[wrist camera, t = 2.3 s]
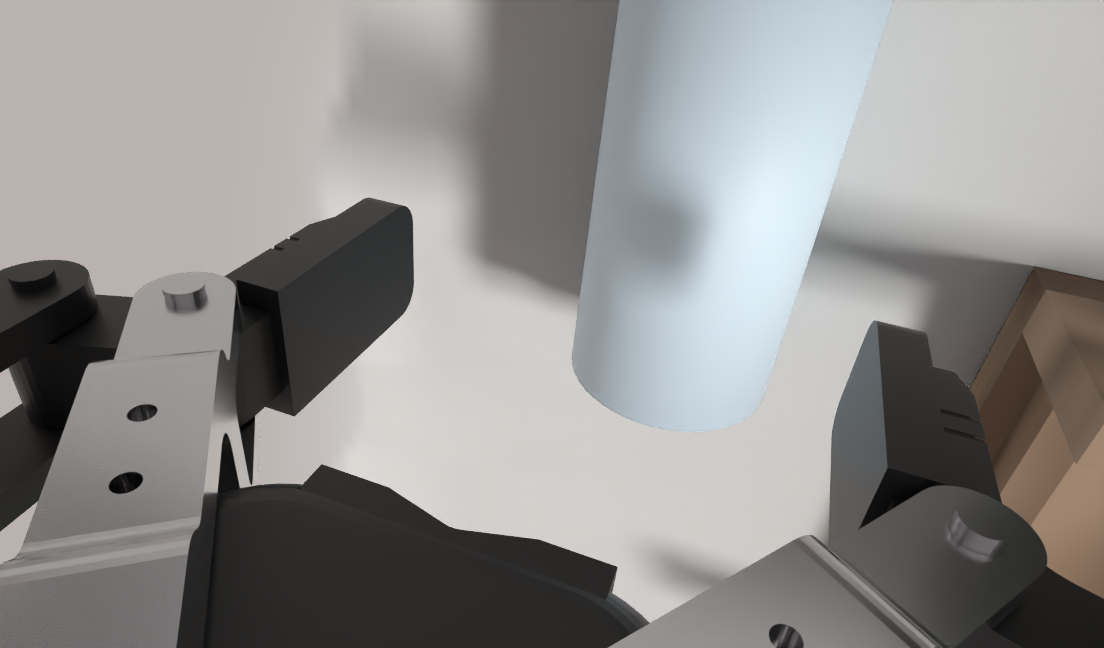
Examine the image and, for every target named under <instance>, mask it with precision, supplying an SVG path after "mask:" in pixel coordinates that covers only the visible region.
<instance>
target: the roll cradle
mask: <svg viewBox="0 0 1104 648" xmlns="http://www.w3.org/2000/svg"><path fill="white" fill-rule="evenodd" d="M969 390H970V391H971V393H972V394H973V395H974V396H975V400H976V404H977V407H978V411H979V415H980V424H982V427H983V431H984V435H985V441H984V443H987V446H988V450H989V454H990V458H991V462H992V466H993V470H994V474H995V478H996V482H997V485H998V489H999V493H1000V497H1001V501H1002V504H1004V505H1005V506H1007V507H1009V508H1010V509H1012V510H1013V511H1014V512H1016V513H1017V514H1018V515H1020V516H1021V517H1022V518H1023V519H1024V520H1025V521H1026V522H1027V523H1028V524H1029V525H1030V526H1031V527H1032V528H1033V529H1034V530H1035V532H1036V533H1037V534H1038V536H1039V537H1040V539H1041V540H1042V542H1043V544H1044V547H1045V549H1046V553H1047V567H1049V568H1050V569H1051V570H1053V571H1054V572H1056V573H1057V574H1059V575H1060V576H1062V577H1064V578H1065V579H1067V580H1069V581H1071V582H1073V583H1074V584H1076V585H1078V586H1080V587H1082V588H1084V589H1086V590H1088V591H1090V592H1092V593H1094V594H1096V595H1097V596H1099V597H1101V598H1103V599H1104V282H1103V281H1099V280H1094V279H1089V278H1085V277H1080V276H1075V275H1071V274H1066V273H1061V272H1057V271H1052V270H1047V269H1043V268H1038V267H1034V269H1033V271H1032V273H1031V274H1030V276H1029V278H1028V280H1027V282H1026V284H1025V286H1024V288H1023V290H1022V291H1021V293H1020V295H1019V297H1018V299H1017V301H1016V303H1015V305H1014V307H1013V308H1012V310H1011V312H1010V314H1009V316H1008V318H1007V320H1006V322H1005V323H1004V325H1003V327H1002V329H1001V331H1000V333H999V335H998V337H997V339H996V340H995V342H994V344H993V346H992V348H991V350H990V352H989V354H988V356H987V357H986V359H985V361H984V363H983V365H982V367H981V369H980V371H979V373H978V374H977V376H976V378H975V380H974V382H973V384H972V386H971V388H970V389H969Z"/></svg>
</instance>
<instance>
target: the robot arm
mask: <svg viewBox="0 0 1104 648" xmlns="http://www.w3.org/2000/svg"><path fill="white" fill-rule="evenodd" d="M413 286H414V266H413V219H412V214H411V212H410V210H409V209H408V208H407V207H406V206H402V205H398V204H394V203H390V202H385V201H381V200H377V199H373V198H365V199H363V200H362V201H360V202H358V203H357V204H355V205H354V206H352V207H350V208H349V209H347V210H346V211H344V212H342V213H341V214H339V215H338V216H336V217H333V218H330V219H326V220H323V221H320V222H316V223H313V224H310V225H308V226H306V227H305V228H303V229H302V230H300V231H298V232H297V233H295V234H293V235H292V236H290V239H285V240H284V241H282V242H280V243H278V244H277V245H275V246H274V249H271V248H270V249H269V250H267V251H265V252H264V253H262V254H261V255H259V256H257V257H256V258H254V259H252V260H251V261H249V262H247V263H246V264H244V265H242V266H241V267H239V268H237V269H236V270H234V271H233V272H231V273H229V274H228V275H226V276H221V275H218V274H214V273H207V272H186V273H178V274H173V275H169V276H165V277H162V278H159V279H156V280H154V281H152V282H150V283H148V284H146V285H144V286H143V287H142V288H140V289H139V290H138V291H137V292H136V294H135V295H134V297H121V296H107V295H95V292H94V289H93V286H92V282H91V279H90V275H89V272H88V270H87V269H86V268H85V267H84V266H82V265H80V264H77V263H74V262H70V261H63V260H44V261H43V260H42V261H34V262H28V263H23V264H19V265H15V266H11V267H9V268H5V269H3V270H1V271H0V372H2V371H3V370H5V369H7V368H9V370H10V373H11V375H12V378H13V381H14V383H15V386H16V388H17V391H18V393H19V395H20V398H21V400H22V404H21V405H19V406H18V407H16V408H15V409H13V410H12V411H10V412H9V413H7V414H6V415H4V416H3V417H1V418H0V531H1V530H3V529H4V528H5V527H6V526H7V525H9V524H10V523H11V522H13V521H14V520H15V519H16V518H17V517H19V516H20V515H21V514H22V513H24V512H25V511H26V510H27V509H29V508H30V507H31V506H32V505H34V504H35V503H36V502H37V501H38V500H39V501H38V503H37V507H36V509H35V512H34V515H33V518H32V520H31V523H30V526H29V529H28V531H27V534H26V537H25V540H24V543H23V545H22V547H21V550H20V552H19V553H18V554H17V556H16V557H15V558H13V559H12V560H9V561H6V562H4V563H3V564H1V565H0V648H1104V599H1103V598H1101V597H1099V596H1097V595H1096V594H1094V593H1092V592H1090V591H1088V590H1086V589H1084V588H1082V587H1080V586H1078V585H1076V584H1074V583H1073V582H1071V581H1069V580H1067V579H1065V578H1064V577H1062V576H1060V575H1059V574H1057V573H1056V572H1054V571H1053V570H1051V569H1050V568H1049V567H1047V553H1046V549H1045V547H1044V544H1043V542H1042V540H1041V539H1040V537H1039V536H1038V534H1037V533H1036V532H1035V530H1034V529H1033V528H1032V527H1031V526H1030V525H1029V524H1028V523H1027V522H1026V521H1025V520H1024V519H1023V518H1022V517H1021V516H1020V515H1018V514H1017V513H1016V512H1014V511H1013V510H1012V509H1010V508H1009V507H1007V506H1005V505H1004V504H1002V501H1001V497H1000V493H999V489H998V485H997V482H996V478H995V474H994V470H993V466H992V462H991V458H990V454H989V450H988V446H987V443H984V441H985V435H984V431H983V427H982V424H980V415H979V411H978V407H977V404H976V400H975V396H974V395H973V394H972V393H971V391H970V390H969V389H968V388H967V387H966V386H965V384H964V383H963V382H962V381H961V380H960V379H959V377H958V376H957V375H956V374H955V373H954V372H950V371H946V370H942V369H938V368H934V367H933V366H932V361H931V355H930V350H929V344H928V339H927V335H926V333H925V332H921V331H917V330H913V329H908V328H904V327H900V326H896V325H892V324H888V323H883V322H879V321H873V322H872V324H871V325H870V327H869V329H868V331H867V334H866V336H865V338H864V341H863V344H862V346H861V349H860V351H859V354H858V356H857V359H856V361H855V364H854V366H853V369H852V371H851V374H850V376H849V379H848V382H847V384H846V387H845V389H844V392H843V394H842V397H841V399H840V402H839V405H838V408H837V412H836V416H835V420H834V424H833V430H832V443H831V479H830V515H829V548H827V547H826V546H825V545H824V544H822V543H821V542H820V541H819V540H818V539H817V538H816V537H814V536H812V535H806V536H802V537H799V538H797V539H795V540H793V541H791V542H790V543H788V544H786V545H784V546H783V547H781V548H779V549H778V550H776V551H774V552H772V553H771V554H769V555H767V556H765V557H764V558H762V559H760V560H759V561H757V562H755V563H753V564H752V565H750V566H748V567H746V568H745V569H743V570H741V571H739V572H738V573H736V574H734V575H733V576H731V577H729V578H727V579H726V580H724V581H722V582H720V583H719V584H717V585H715V586H714V587H712V588H710V589H708V590H707V591H705V592H703V593H701V594H700V595H698V596H696V597H695V598H693V599H691V600H689V601H688V602H686V603H684V604H682V605H681V606H679V607H677V608H675V609H674V610H672V611H670V612H669V613H667V614H665V615H663V616H662V617H660V618H658V619H656V620H655V621H653V622H651V623H649V622H648V621H647V620H646V619H645V618H644V617H643V616H642V615H641V614H640V613H639V612H637V611H636V610H635V609H634V608H632V607H631V606H630V605H629V604H627V603H626V602H625V601H623V600H622V599H620V598H619V597H617V596H616V595H614V594H612V591H613V586H614V581H615V577H616V572H617V567H616V566H613V565H610V564H607V563H605V562H602V561H599V560H596V559H593V558H590V557H587V556H584V555H582V554H579V553H576V552H573V551H570V550H567V549H564V548H561V547H558V546H556V545H553V544H550V543H547V542H544V541H541V540H537V539H529V538H521V537H514V536H506V535H498V534H490V533H482V532H474V531H466V530H459V529H454V528H452V527H449V526H447V525H445V524H444V523H442V522H441V521H439V520H438V519H436V518H435V517H433V516H431V515H430V514H428V513H427V512H425V511H424V510H422V509H421V508H419V507H418V506H416V505H415V504H413V503H412V502H410V501H408V500H407V499H405V498H404V497H402V496H401V495H399V494H398V493H396V492H395V491H393V490H392V489H390V488H388V487H386V486H383V485H380V484H377V483H374V482H371V481H368V480H365V479H362V478H360V477H357V476H354V475H351V474H348V473H345V472H342V471H339V470H337V469H334V468H331V467H328V466H325V465H321V466H320V467H319V468H318V469H317V470H316V471H315V472H314V473H313V474H312V475H311V476H310V477H309V479H308V480H307V481H306V482H305V483H304V484H303V485H301V484H267V485H258V467H259V466H258V465H259V432H260V429H259V422H258V416H257V413H258V412H260V411H261V410H262V409H263V408H264V407H268V408H271V409H274V410H277V411H280V412H283V413H286V414H289V415H292V416H295V415H297V413H299V412H300V411H301V410H302V409H303V408H304V407H305V406H306V405H307V404H308V403H309V402H310V401H311V400H313V398H315V397H316V396H317V395H318V394H319V393H320V392H321V391H322V390H323V389H324V388H325V387H326V386H327V385H328V384H329V383H330V382H332V381H333V380H334V379H335V378H336V377H337V376H338V375H339V374H340V373H341V372H342V371H343V370H344V369H345V368H347V367H348V366H349V365H350V364H351V363H352V362H353V361H354V360H355V359H356V358H357V357H358V356H359V355H360V354H361V353H362V352H364V351H365V350H366V349H367V348H368V347H369V346H370V345H371V344H372V343H373V342H374V341H375V340H376V339H377V338H378V337H379V336H381V335H382V334H383V333H384V332H385V331H386V330H387V329H388V328H389V327H390V326H391V325H392V324H393V323H394V322H395V321H396V320H398V319H399V318H400V317H401V316H402V315H403V313H404V312H405V311H406V309H407V307H408V305H409V303H410V300H411V297H412V293H413Z"/></svg>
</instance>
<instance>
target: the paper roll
mask: <svg viewBox="0 0 1104 648" xmlns="http://www.w3.org/2000/svg"><path fill="white" fill-rule="evenodd" d="M893 2H894V0H619V7H618V15H617V22H616V30H615V37H614V45H613V52H612V59H611V67H610V74H609V82H608V89H607V97H606V104H605V112H604V119H603V127H602V134H601V142H600V149H599V157H598V164H597V172H596V179H595V186H594V194H593V201H592V209H591V216H590V224H589V231H588V239H587V246H586V254H585V261H584V269H583V276H582V284H581V291H580V299H579V306H578V313H577V321H576V328H575V336H574V343H573V351H572V365H573V369H574V372H575V374H576V376H577V378H578V380H579V382H580V383H581V384H582V386H583V387H584V388H585V390H586V391H587V392H588V393H589V394H590V395H591V396H592V397H593V398H595V399H596V400H597V401H598V402H600V403H601V404H602V405H604V406H605V407H607V408H608V409H610V410H612V411H613V412H615V413H617V414H619V415H621V416H623V417H625V418H627V419H630V420H632V421H635V422H637V423H641V424H644V425H647V426H650V427H655V428H659V429H664V430H671V431H679V432H707V431H713V430H719V429H723V428H727V427H730V426H733V425H735V424H737V423H740V422H742V421H743V420H745V419H746V418H748V417H749V416H750V415H752V414H753V413H754V412H755V411H756V410H757V408H758V407H759V405H760V404H761V401H762V399H763V397H764V394H765V391H766V388H767V385H768V382H769V378H770V375H771V372H772V369H773V366H774V363H775V360H776V357H777V354H778V351H779V348H780V345H781V342H782V339H783V336H784V333H785V330H786V327H787V324H788V321H789V318H790V315H791V312H792V309H793V306H794V303H795V300H796V297H797V294H798V290H799V287H800V284H801V281H802V278H803V275H804V272H805V269H806V266H807V263H808V260H809V257H810V254H811V251H812V248H813V245H814V242H815V239H816V236H817V233H818V230H819V227H820V224H821V221H822V218H823V215H824V212H825V209H826V206H827V203H828V199H829V196H830V193H831V190H832V187H833V184H834V181H835V178H836V175H837V172H838V169H839V166H840V163H841V160H842V157H843V154H844V151H845V148H846V145H847V142H848V139H849V136H850V133H851V130H852V127H853V124H854V121H855V118H856V115H857V112H858V108H859V105H860V102H861V99H862V96H863V93H864V90H865V87H866V84H867V81H868V78H869V75H870V72H871V69H872V66H873V63H874V60H875V57H876V54H877V51H878V48H879V45H880V42H881V39H882V36H883V33H884V30H885V27H886V24H887V21H888V17H889V14H890V11H891V8H892V5H893Z"/></svg>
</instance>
